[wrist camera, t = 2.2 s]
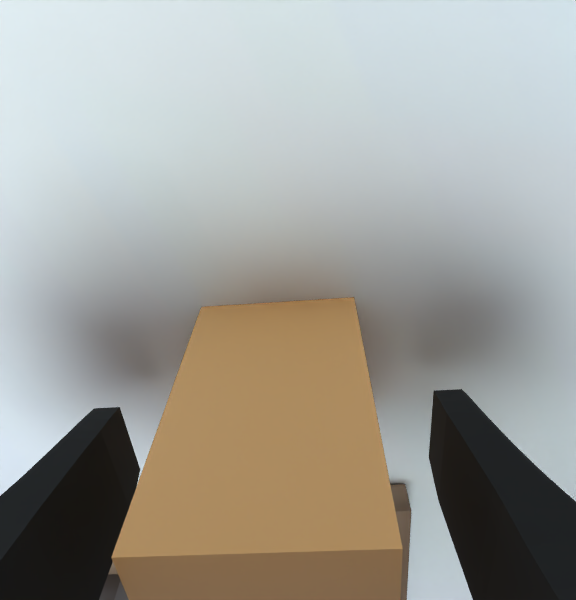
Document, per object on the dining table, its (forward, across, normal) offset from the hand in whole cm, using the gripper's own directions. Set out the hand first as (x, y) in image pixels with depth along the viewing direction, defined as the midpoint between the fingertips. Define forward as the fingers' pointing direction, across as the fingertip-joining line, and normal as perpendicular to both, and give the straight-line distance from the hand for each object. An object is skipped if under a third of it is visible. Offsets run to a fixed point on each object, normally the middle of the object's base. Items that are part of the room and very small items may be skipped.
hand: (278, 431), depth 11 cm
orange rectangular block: (+3, 0, 0) cm, 3 cm away
